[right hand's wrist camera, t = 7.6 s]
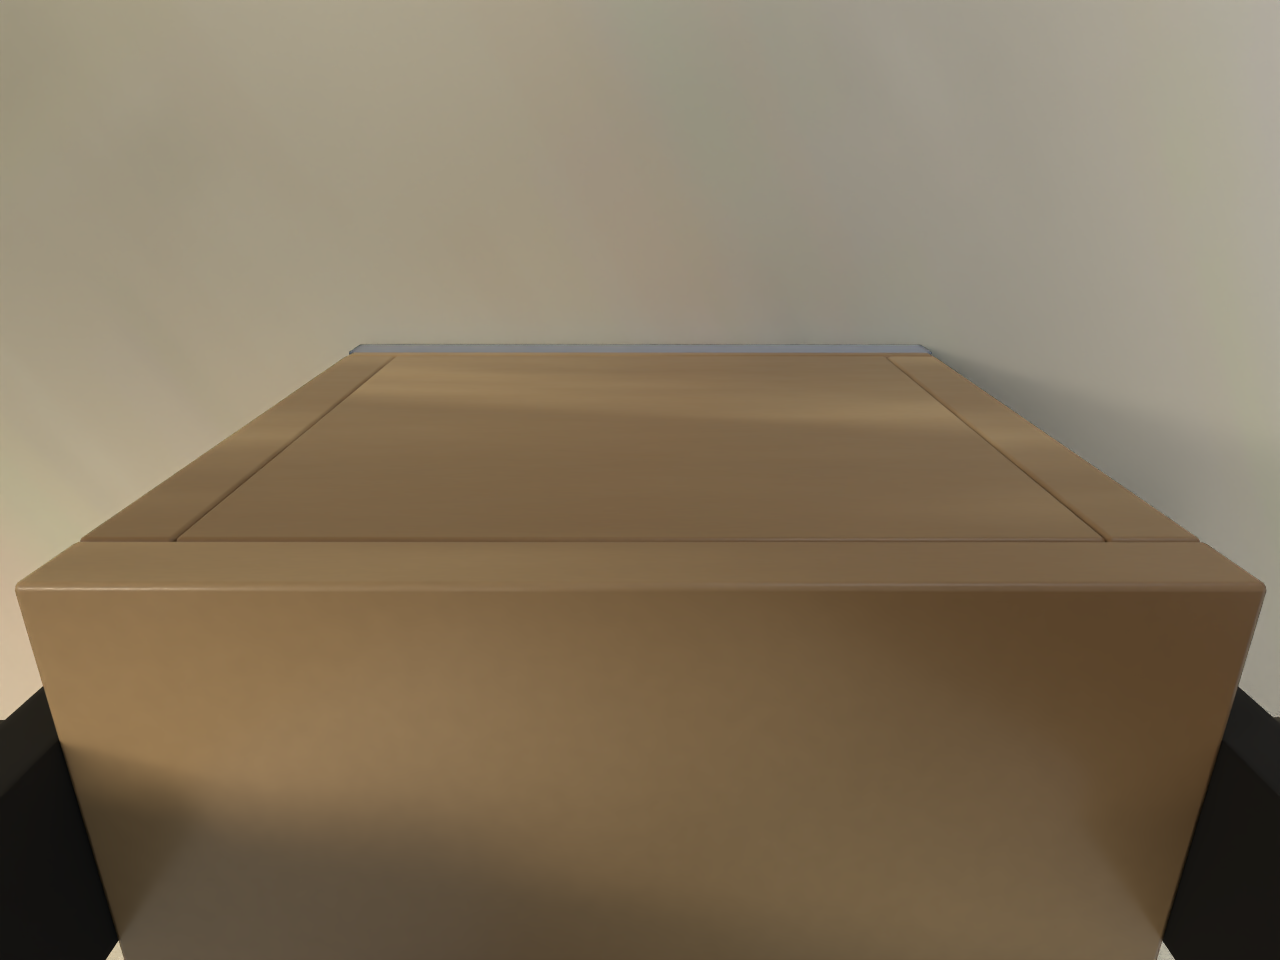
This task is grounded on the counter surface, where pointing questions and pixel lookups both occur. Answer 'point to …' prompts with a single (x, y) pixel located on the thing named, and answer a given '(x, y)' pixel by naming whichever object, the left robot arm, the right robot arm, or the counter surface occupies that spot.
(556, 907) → the cabinet
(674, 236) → the counter surface
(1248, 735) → the right robot arm
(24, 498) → the counter surface
